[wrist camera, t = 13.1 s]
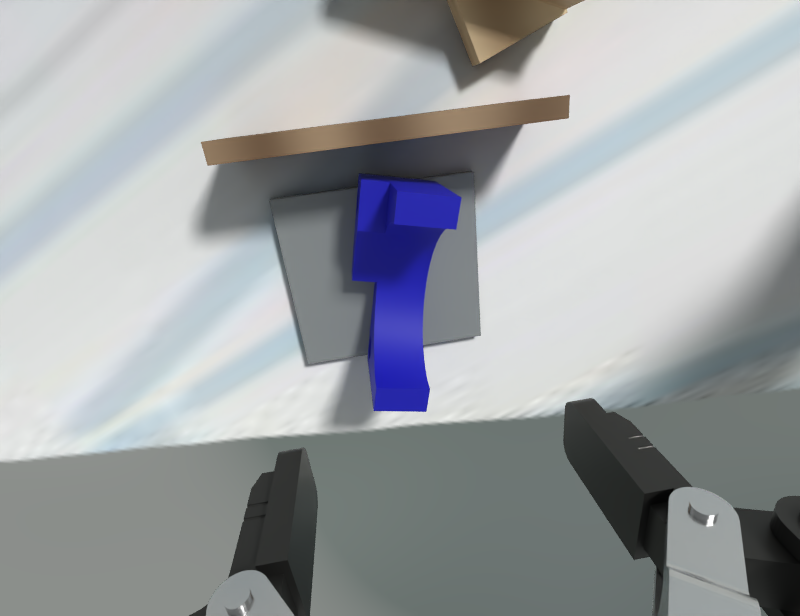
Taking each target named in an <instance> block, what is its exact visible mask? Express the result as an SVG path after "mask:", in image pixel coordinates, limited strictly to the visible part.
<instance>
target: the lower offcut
mask: <svg viewBox="0 0 800 616" xmlns="http://www.w3.org/2000/svg"><path fill="white" fill-rule="evenodd" d="M447 2H448V4H449V7H450V10H451V12H452V15H453V17H454V20H455V22H456V25H457V28H458V30H459V33H460V35H461V38H462V41H463V43H464V46H465V48H466V51H467V53H468V56H469V59H470V61H471V64H472V66H475V65H477V64H480V63H482V62H483V61H485V60H487V59H489V58H490V57H492V56H494V55H495V54H497V53H499V52H501V51H502V50H504V49H506V48H507V47H509V46H511V45H513V44H514V43H516V42H518V41H519V40H521V39H523V38H525V37H526V36H528V35H530V34H531V33H533V32H535V31H536V30H538V29H540V28H542V27H543V26H545V25H547V24H548V23H550V22H552V21H554V20H555V19H557V18H559V17H560V16H562V15H564V14H566V13H567V9H562V8H559V7H556V6H553V5H550V4H547V3H544V2H541V1H538V0H447Z"/></svg>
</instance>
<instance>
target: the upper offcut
mask: <svg viewBox="0 0 800 616" xmlns="http://www.w3.org/2000/svg"><path fill="white" fill-rule="evenodd" d="M538 1H541V2H544V3H547V4H550V5H553V6H556V7H559V8H562V9H567V8H569V7H571V6H574V5H576V4H578V3H580V2H582V1H584V0H538Z"/></svg>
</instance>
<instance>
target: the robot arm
mask: <svg viewBox="0 0 800 616" xmlns="http://www.w3.org/2000/svg"><path fill="white" fill-rule="evenodd" d="M563 441H564V448H565V452H566V455H567V458H568V460H569V462H570V463H571V465H572V466H573V468H574V469H575V471H576V472H577V474H578V475H579V477H580V479H581V480H582V481H583V483H584V485H585V486H586V487H587V489H588V490H589V492H590V494H591V495H592V497H593V498H594V500H595V501H596V503H597V504H598V506H599V507H600V509H601V510H602V512H603V513H604V515H605V517H606V518H607V520H608V521H609V523H610V524H611V526H612V527H613V529H614V530H615V532H616V533H617V535H618V536H619V538H620V539H621V541H622V542H623V544H624V545H625V547H626V548H627V550H628V551H629V553H630V555H631V556H632V557H633V559H634V560H635V559H640V558H645V557H650V558H651V559H652V561H653V562H654V564H655V565H656V568H655V574H654V592H653V609H652V616H761V611H760V607H762V609H763V610H764V611H765V612H766V614H767V615H768V616H800V496H788V497H783V498H781V499H780V500H779V501H777V503H776V505H775V508H774V511H761V510H751V509H741V508H733V507H732V506H731V505H730V504H729V503H728V502H726V501H725V500H724V499H722V498H721V497H720V496H718V495H716V494H714V493H712V492H710V491H707V490H704V489H700V488H695V487H692V486H691V485H690V484H689V483H688V482H687V481H686V480H685V478H684V477H683V476H682V475H681V474H680V473H679V472H678V471H677V470H676V469H675V468H674V467H673V466H672V465H671V464H670V463H669V461H668V460H666V458H665V457H664V456H663V455H662V454H661V453H660V452H659V451H658V450H657V449H656V448H654V447H653V445H652V444H651V443H650V441H649V440H648V439H647V438H646V437H643V434H642V433H641V432H640V431H639V430H638V429H637V428H636V427H635V426H634V425H633V424H632V423H631V422H630V421H629V420H627V419H625V418H623V417H622V416H620V415H618V414H617V413H615V412H611V413H606V412H605V411H604V409H603V408H602V407H601V406H600V405H599V404H598V403H597V402H596V401H595V400H594V399H592V398H589V399H584V400H578V401H572V402H568V403H566V406H565V419H564V440H563ZM317 508H318V501H317V490H316V485H315V481H314V477H313V474H312V470H311V466H310V463H309V459H308V455H307V452H306V449H305V448H300V449H293V450H288V451H282V452H279V453H278V457H277V461H276V466H275V471H273V472H267V473H262V474H261V476H260V477H259V479H258V480H257V482H256V483H255V484H254V486H253V487H252V489H251V492H250V497H249V500H248V504H247V509H246V512H245V516H244V522H243V524H242V527H241V531H240V535H239V539H238V543H237V548H236V551H235V555H234V559H233V563H232V567H231V570H230V574H229V577H228V579H226V580H225V581H224V582H223V583H222V584H221V585H220V586H219V587H218V588H217V589H216V591H215V592H214V593H213V595H212V597H211V598H210V601H209V603H208V604H207V605H206V606H205V607H203V608H202V609H201V610H199V611H197V612H195V613H193V614H192V615H189V616H310V605H311V592H312V577H313V564H314V550H315V535H316V522H317Z"/></svg>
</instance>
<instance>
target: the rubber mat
mask: <svg viewBox="0 0 800 616" xmlns="http://www.w3.org/2000/svg"><path fill="white" fill-rule="evenodd" d="M417 179H420V180H429V181H436V182H438V183H439V184H441V185H442V186H444V187H445V188H447V189H449V190H450V191H452V192H453V193H455V194H457V195H458V196H460V197H461V204H460V210H459V216H458V222H457V229H456V230H454V229H446V230H445V231H444V232H443V233H442V234H441V236H440V238H439V239H438V242H437V244H436V246H435V249H434V252H433V255H432V259H431V262H430V267H429V271H428V277H427V283H426V290H425V298H424V310H423V345H427V344H433V343H439V342H445V341H451V340H457V339H463V338H469V337H475V336H481V332H480V309H479V285H478V262H477V238H476V215H475V191H474V172H472V171H468V172H461V173H454V174H446V175H439V176H432V177H425V178H417ZM357 191H358V187H352V188H345V189H338V190H331V191H323V192H316V193H309V194H302V195H294V196H287V197H280V198H273V199H270V200H269V202H270V206H271V210H272V214H273V218H274V223H275V227H276V231H277V235H278V239H279V243H280V248H281V252H282V256H283V260H284V264H285V269H286V273H287V277H288V281H289V285H290V289H291V294H292V298H293V302H294V306H295V310H296V315H297V319H298V323H299V327H300V331H301V336H302V340H303V344H304V348H305V352H306V356H307V361H308V364H313V363H319V362H325V361H331V360H337V359H343V358H349V357H355V356H361V355H367V354H368V347H369V336H370V326H371V315H372V305H373V294H374V284H375V282H365V281H352V260H353V246H354V232H355V219H356V205H357Z"/></svg>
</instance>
